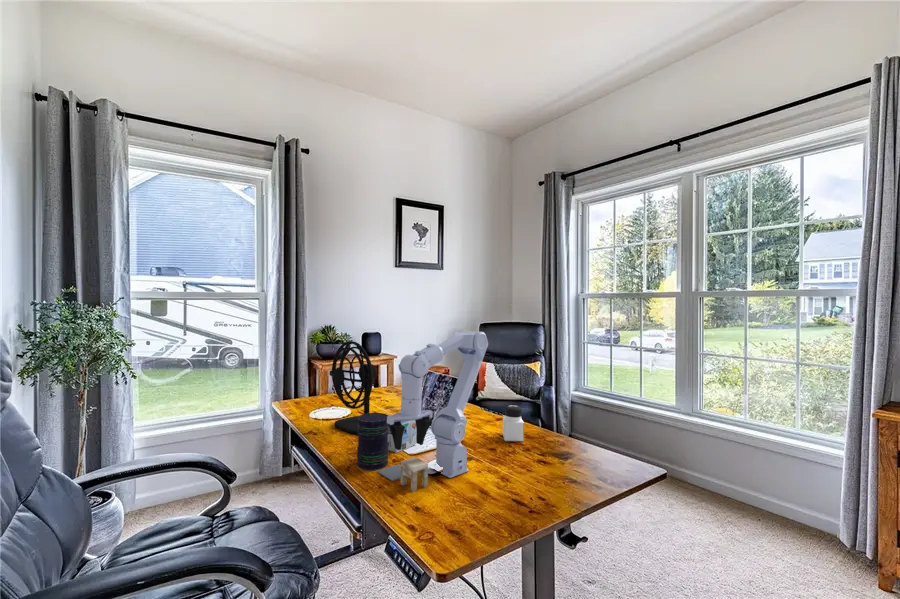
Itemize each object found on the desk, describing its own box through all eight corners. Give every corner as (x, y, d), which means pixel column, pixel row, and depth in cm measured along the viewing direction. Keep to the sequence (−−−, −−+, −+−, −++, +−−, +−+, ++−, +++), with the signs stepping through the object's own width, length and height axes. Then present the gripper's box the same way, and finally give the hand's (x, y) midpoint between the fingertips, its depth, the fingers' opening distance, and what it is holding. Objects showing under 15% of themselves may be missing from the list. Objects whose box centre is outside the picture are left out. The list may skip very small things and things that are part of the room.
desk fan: (319, 424, 169) (321, 339, 169) (356, 415, 182) (357, 337, 181) (357, 440, 150) (358, 345, 150) (394, 430, 163) (396, 342, 163)
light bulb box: (396, 453, 139) (397, 421, 139) (382, 448, 143) (383, 418, 143) (417, 444, 147) (418, 414, 147) (403, 440, 151) (404, 411, 151)
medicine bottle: (523, 441, 152) (524, 409, 152) (504, 441, 152) (505, 409, 152) (520, 435, 159) (521, 404, 159) (502, 434, 160) (503, 404, 160)
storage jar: (394, 464, 130) (395, 417, 129) (368, 473, 123) (368, 423, 123) (376, 455, 137) (377, 410, 137) (350, 463, 130) (351, 416, 130)
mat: (413, 474, 123) (413, 472, 123) (392, 481, 118) (392, 479, 118) (397, 465, 129) (397, 464, 129) (377, 472, 124) (377, 470, 124)
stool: (427, 486, 115) (428, 463, 115) (413, 491, 112) (413, 468, 111) (414, 479, 119) (415, 456, 119) (400, 484, 116) (400, 461, 116)
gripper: (423, 392, 124) (420, 438, 123) (382, 397, 114) (379, 447, 113) (438, 397, 118) (435, 444, 118) (396, 402, 109) (393, 454, 108)
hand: (409, 446), depth 115 cm, fingers open, 7 cm apart
